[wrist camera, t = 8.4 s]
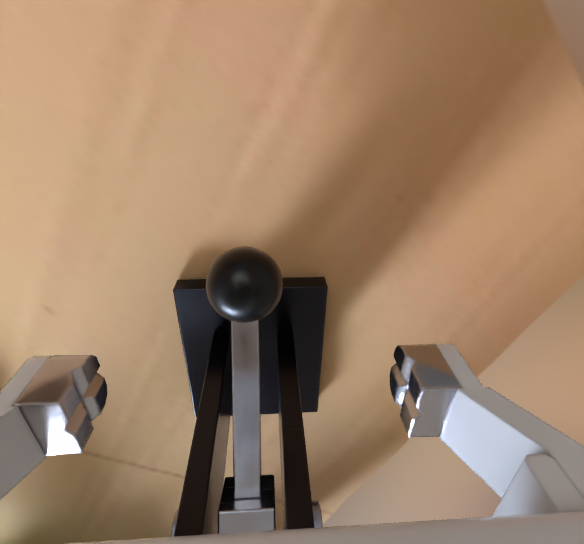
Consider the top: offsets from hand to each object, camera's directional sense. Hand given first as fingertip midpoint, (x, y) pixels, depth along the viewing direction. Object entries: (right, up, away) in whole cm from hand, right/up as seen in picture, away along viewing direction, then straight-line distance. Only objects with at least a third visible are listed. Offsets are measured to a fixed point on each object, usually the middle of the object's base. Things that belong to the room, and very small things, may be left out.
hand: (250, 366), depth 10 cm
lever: (-1, -3, +7) cm, 7 cm away
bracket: (-1, -3, +14) cm, 15 cm away
